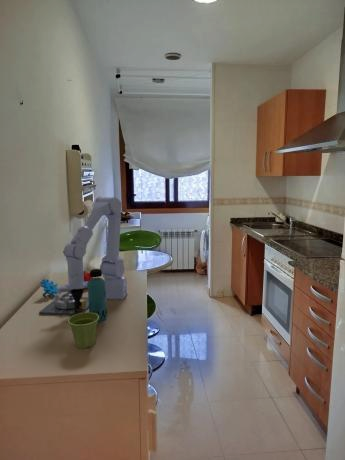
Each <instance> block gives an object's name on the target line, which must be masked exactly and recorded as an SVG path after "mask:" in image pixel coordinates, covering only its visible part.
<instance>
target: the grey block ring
mask: <svg viewBox="0 0 345 460" xmlns="http://www.w3.org/2000/svg"><path fill="white" fill-rule="evenodd" d="M66 293H71V292H70V291H67V292H66ZM83 294H84V293H83ZM83 294H82V296H81V299H80V302H79V303H80V309H83V308H86V300H83V297H84V296H83ZM62 295H63V294H61V293H60V294H55V295H54V296H53V297H54V300H53V301H55V307H56V308H59V309H70V308H76V307H75V300H71V301H70V297H65V298H64V299H65V301H62V297H61V296H62Z"/></svg>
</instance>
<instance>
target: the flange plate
mask: <svg viewBox="0 0 345 460" xmlns="http://www.w3.org/2000/svg"><path fill="white" fill-rule="evenodd" d="M83 300H86V308H83V309H80V308H70V309H59V308H56V307H55V301H54V300H53V301H51V302H50V303H49V304H47V305H46V306H45V307H43V308H42V309H41V310H40V311H39V312H38V315H41V316H42V315H45V316H49V315H50V316H70V317H71V316H73V315H76V314H79V313H85V312H87V310H89V300H88V296H87V297H84V296H83Z"/></svg>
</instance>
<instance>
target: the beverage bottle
mask: <svg viewBox="0 0 345 460" xmlns="http://www.w3.org/2000/svg"><path fill="white" fill-rule="evenodd" d="M89 272H90V277H93V278H92V279H90V280H89V281H88V283H87V285H88V288H87V297H88V300H89V308H88V312H91V313H96V314H98V315H99V320H98V323H97V324H102V323H104V322H106V321H107V319H108V309H107V307H108V306H107V299H106V291H105V289H106V288H105V281H104V278H101V277H103V274H102V273H101V270H100V268H94V269H90V270H89Z"/></svg>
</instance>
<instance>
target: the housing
mask: <svg viewBox="0 0 345 460" xmlns="http://www.w3.org/2000/svg"><path fill="white" fill-rule="evenodd" d="M61 295H62V296H61V297H62V301H65V299H64V298H65V297H70V301H71V300H74V298H73V296H72V294H71V293H68V292H65V293H62V294H61Z"/></svg>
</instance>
